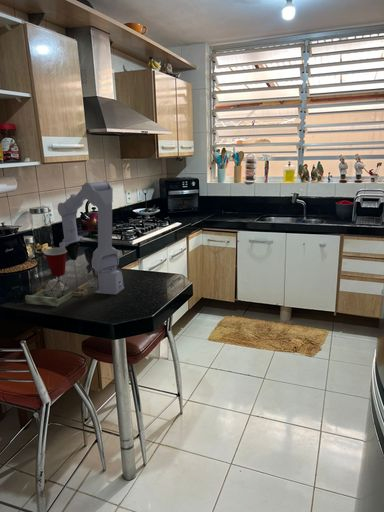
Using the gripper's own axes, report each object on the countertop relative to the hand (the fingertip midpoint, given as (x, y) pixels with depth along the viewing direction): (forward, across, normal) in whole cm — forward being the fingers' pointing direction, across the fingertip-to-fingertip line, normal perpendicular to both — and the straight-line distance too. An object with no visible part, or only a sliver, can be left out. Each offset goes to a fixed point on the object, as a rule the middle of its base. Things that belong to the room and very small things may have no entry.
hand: (73, 259), depth 168 cm
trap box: (+9, +18, +4) cm, 21 cm away
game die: (+10, +22, +5) cm, 24 cm away
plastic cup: (+10, -5, -13) cm, 17 cm away
